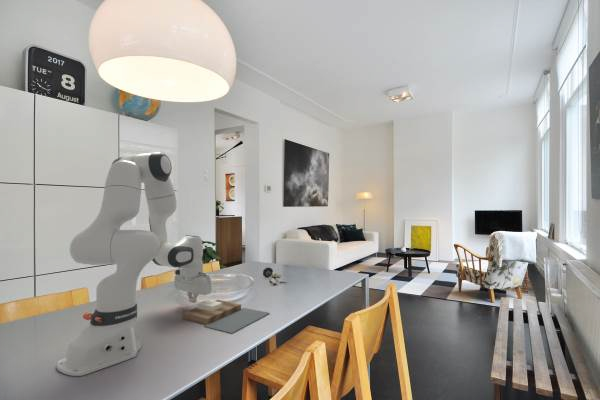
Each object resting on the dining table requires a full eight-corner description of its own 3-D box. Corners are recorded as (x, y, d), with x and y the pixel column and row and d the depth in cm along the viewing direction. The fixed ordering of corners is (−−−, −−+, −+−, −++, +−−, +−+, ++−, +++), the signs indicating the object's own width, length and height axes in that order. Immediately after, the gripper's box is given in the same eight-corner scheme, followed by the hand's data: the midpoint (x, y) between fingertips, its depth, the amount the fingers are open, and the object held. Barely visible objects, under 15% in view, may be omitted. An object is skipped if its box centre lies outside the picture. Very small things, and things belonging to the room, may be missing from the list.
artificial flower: (274, 278, 206) (279, 264, 205) (279, 292, 184) (284, 275, 183) (261, 275, 204) (265, 261, 203) (264, 289, 182) (269, 272, 181)
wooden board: (207, 325, 123) (207, 318, 124) (183, 318, 130) (183, 312, 130) (241, 309, 141) (241, 304, 141) (217, 305, 148) (217, 299, 148)
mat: (231, 334, 115) (231, 332, 115) (204, 326, 122) (204, 325, 122) (269, 313, 136) (269, 312, 136) (243, 308, 143) (243, 307, 143)
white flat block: (212, 311, 132) (212, 306, 132) (197, 308, 136) (197, 303, 136) (222, 307, 137) (222, 302, 137) (207, 304, 141) (207, 299, 141)
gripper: (215, 272, 140) (215, 303, 139) (182, 267, 149) (182, 297, 149) (204, 275, 134) (204, 307, 134) (171, 270, 144) (171, 300, 144)
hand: (192, 302), depth 142 cm, fingers closed
